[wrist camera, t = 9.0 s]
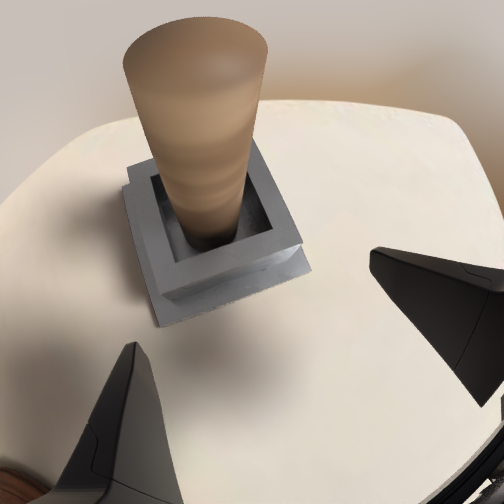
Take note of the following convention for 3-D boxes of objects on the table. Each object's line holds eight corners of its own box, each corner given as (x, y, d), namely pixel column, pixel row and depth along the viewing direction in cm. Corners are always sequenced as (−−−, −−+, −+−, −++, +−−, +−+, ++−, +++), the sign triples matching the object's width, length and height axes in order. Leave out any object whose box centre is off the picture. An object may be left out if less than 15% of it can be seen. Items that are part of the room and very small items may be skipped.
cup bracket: (309, 272, 18) (332, 255, 14) (162, 327, 16) (145, 325, 12) (252, 150, 21) (259, 114, 17) (123, 190, 18) (105, 159, 15)
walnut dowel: (220, 262, 17) (216, 111, 5) (172, 235, 17) (94, 72, 5) (247, 216, 18) (290, 38, 6) (201, 191, 18) (182, 10, 6)
